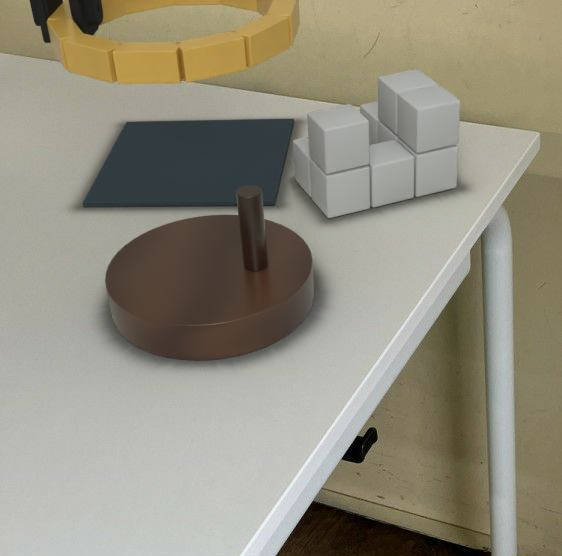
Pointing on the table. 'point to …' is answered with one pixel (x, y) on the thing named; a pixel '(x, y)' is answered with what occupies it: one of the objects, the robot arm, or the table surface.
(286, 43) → the ring
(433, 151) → the puzzle cube
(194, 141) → the mat
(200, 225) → the peg stand
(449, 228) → the table surface
